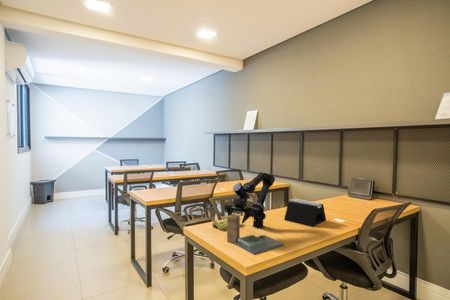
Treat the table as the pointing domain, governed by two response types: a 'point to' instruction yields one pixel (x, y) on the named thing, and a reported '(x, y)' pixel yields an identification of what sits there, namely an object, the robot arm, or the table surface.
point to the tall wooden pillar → (233, 228)
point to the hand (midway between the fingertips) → (235, 222)
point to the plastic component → (221, 223)
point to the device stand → (305, 212)
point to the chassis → (257, 243)
